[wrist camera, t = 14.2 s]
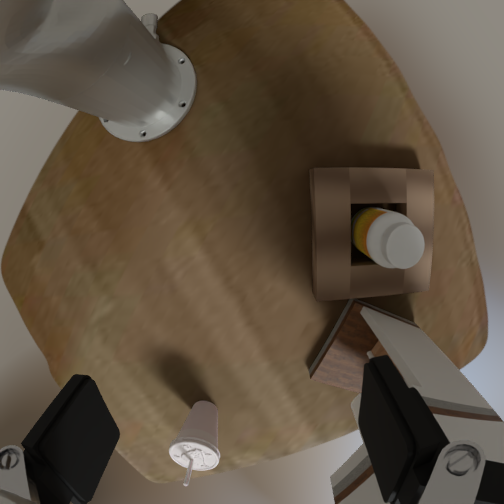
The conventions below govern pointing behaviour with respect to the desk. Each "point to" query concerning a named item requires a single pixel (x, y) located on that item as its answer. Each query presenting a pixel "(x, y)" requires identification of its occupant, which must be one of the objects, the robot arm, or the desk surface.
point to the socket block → (339, 230)
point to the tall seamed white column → (415, 375)
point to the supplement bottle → (387, 237)
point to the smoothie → (197, 440)
